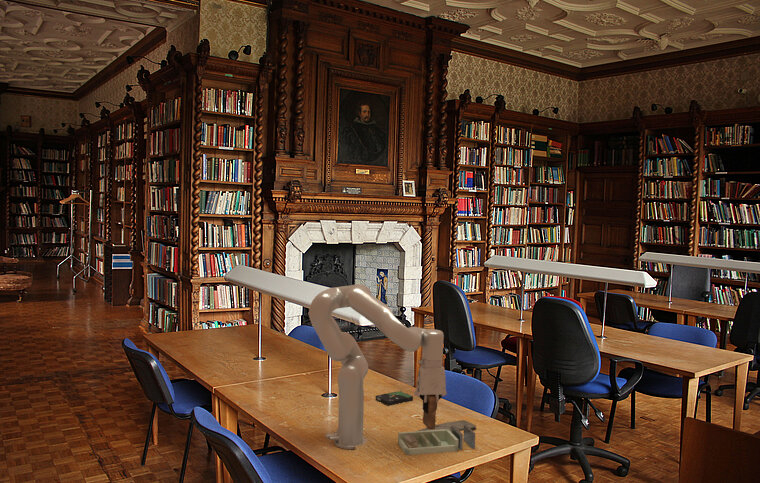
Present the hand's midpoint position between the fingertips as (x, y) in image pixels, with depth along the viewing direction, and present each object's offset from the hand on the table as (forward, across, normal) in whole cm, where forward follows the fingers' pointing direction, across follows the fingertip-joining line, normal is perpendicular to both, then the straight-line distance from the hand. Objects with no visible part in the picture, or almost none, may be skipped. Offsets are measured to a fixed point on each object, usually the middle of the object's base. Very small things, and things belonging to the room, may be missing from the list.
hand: (429, 411), depth 223 cm
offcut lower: (+14, -7, 0) cm, 15 cm away
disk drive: (+16, +3, +58) cm, 61 cm away
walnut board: (+5, 0, 0) cm, 5 cm away
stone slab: (+15, +12, +16) cm, 25 cm away
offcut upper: (+11, -7, 0) cm, 13 cm away
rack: (+15, 0, 0) cm, 15 cm away
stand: (+14, +14, 0) cm, 20 cm away
